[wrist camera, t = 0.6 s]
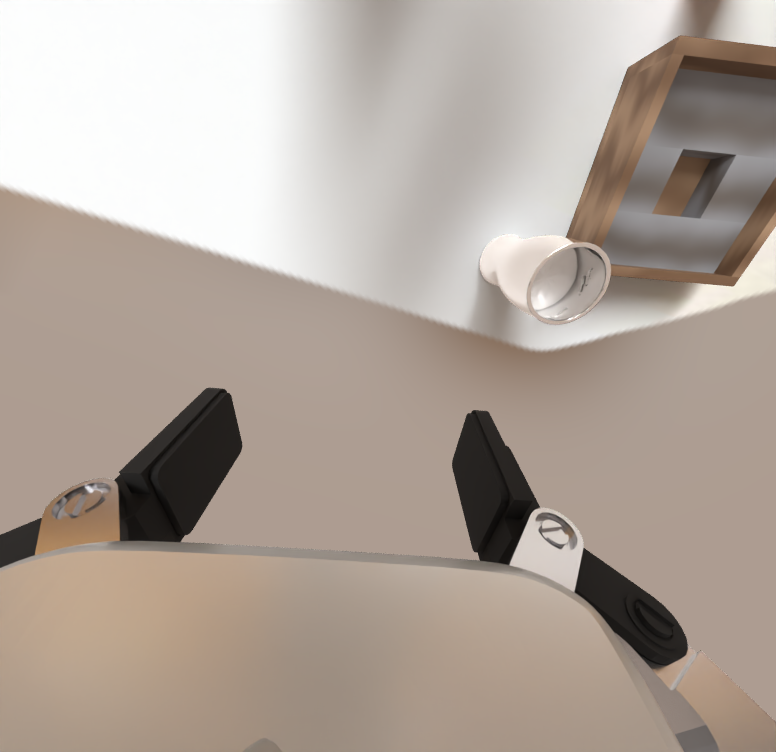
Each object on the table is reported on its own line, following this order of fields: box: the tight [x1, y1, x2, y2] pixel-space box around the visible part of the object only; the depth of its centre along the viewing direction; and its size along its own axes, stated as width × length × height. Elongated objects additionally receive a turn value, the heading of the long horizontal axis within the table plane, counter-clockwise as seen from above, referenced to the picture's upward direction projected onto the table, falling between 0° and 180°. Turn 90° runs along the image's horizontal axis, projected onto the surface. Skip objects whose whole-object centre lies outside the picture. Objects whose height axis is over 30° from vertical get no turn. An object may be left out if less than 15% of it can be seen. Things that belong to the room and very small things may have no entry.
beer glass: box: [479, 234, 611, 325], centre depth 29 cm, size 7×7×15 cm
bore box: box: [566, 36, 776, 286], centre depth 29 cm, size 18×18×6 cm
